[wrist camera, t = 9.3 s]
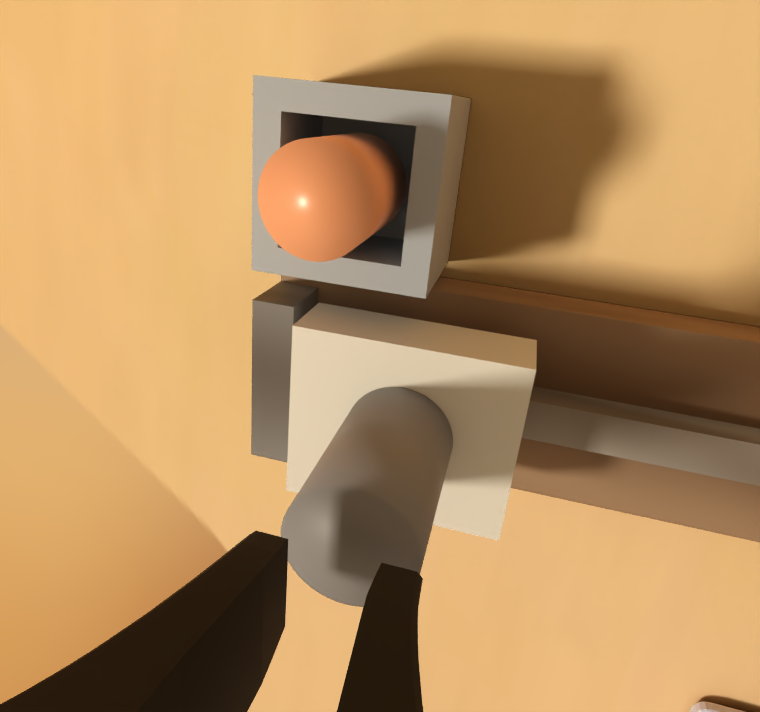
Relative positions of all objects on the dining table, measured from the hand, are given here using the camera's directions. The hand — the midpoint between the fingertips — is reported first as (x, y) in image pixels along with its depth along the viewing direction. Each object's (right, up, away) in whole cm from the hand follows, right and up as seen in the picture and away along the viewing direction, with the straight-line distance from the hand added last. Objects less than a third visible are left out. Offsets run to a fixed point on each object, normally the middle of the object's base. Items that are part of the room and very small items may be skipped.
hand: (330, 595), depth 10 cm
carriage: (+2, +3, +7) cm, 8 cm away
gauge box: (+1, +10, +7) cm, 12 cm away
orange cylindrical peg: (0, +9, +5) cm, 10 cm away
